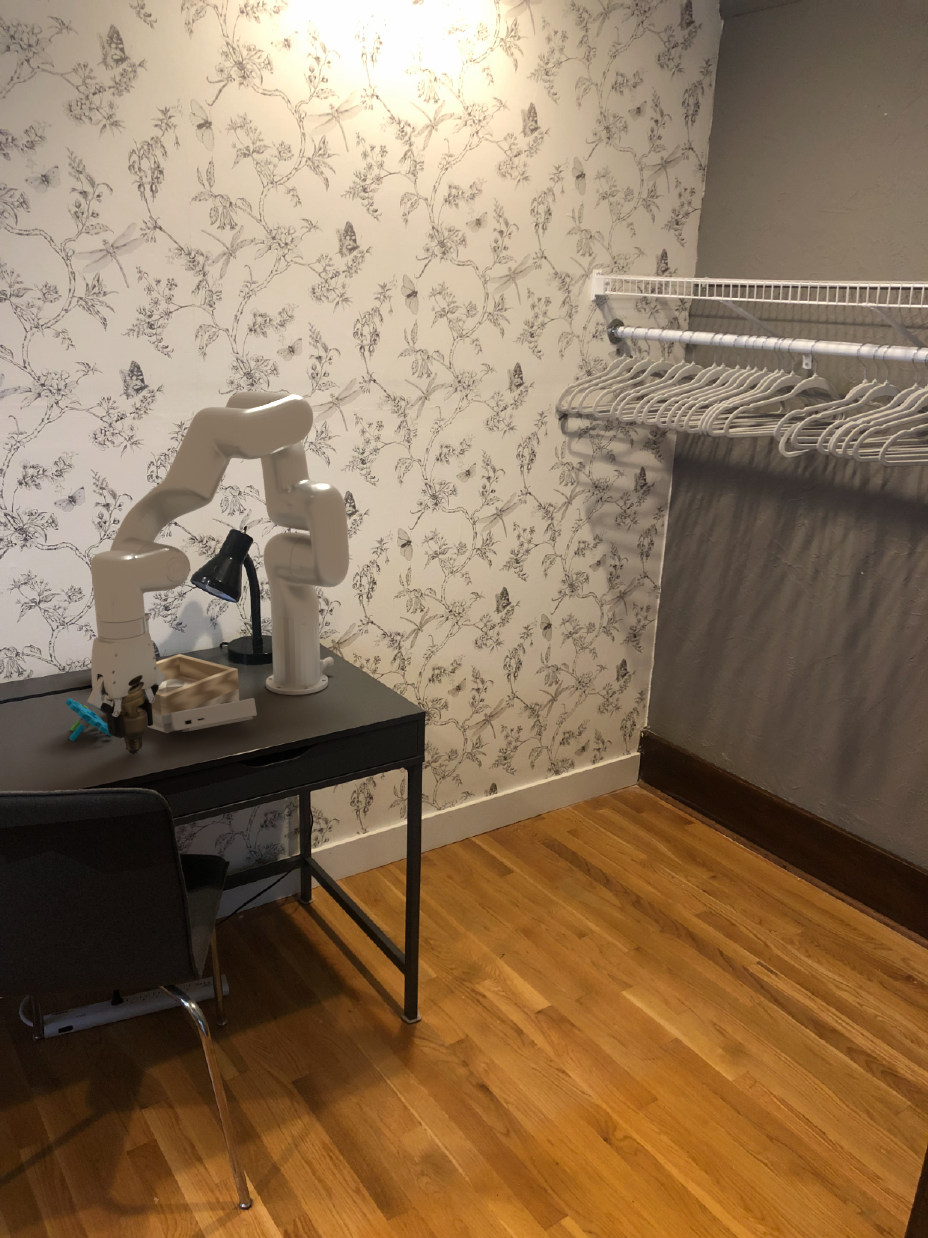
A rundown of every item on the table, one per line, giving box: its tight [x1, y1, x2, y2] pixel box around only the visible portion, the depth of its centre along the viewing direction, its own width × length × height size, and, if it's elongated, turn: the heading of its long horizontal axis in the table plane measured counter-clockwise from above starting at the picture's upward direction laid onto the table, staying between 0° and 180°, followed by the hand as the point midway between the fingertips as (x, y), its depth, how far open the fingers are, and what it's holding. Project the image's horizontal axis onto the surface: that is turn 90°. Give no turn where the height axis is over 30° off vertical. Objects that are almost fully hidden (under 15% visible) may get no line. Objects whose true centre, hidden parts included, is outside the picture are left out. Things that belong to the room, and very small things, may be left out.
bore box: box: [111, 653, 240, 734], centre depth 182 cm, size 18×16×7 cm
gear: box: [64, 697, 112, 742], centre depth 168 cm, size 11×6×10 cm
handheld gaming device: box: [161, 697, 258, 733], centre depth 170 cm, size 9×15×4 cm, turn 119°
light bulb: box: [112, 675, 149, 755], centre depth 160 cm, size 6×6×15 cm
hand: (131, 728), depth 161 cm, fingers closed on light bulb, 5 cm apart
